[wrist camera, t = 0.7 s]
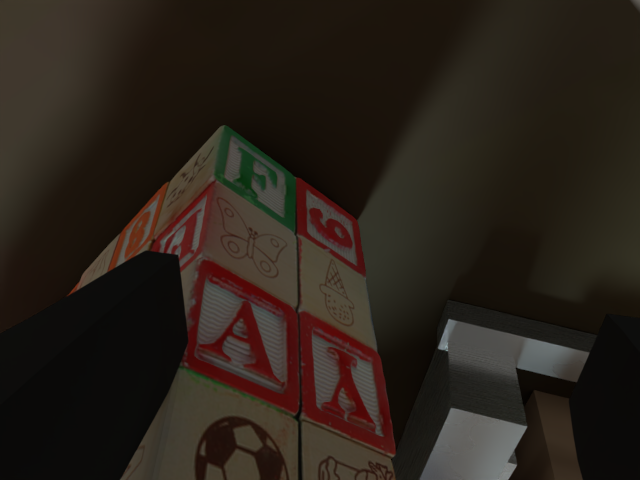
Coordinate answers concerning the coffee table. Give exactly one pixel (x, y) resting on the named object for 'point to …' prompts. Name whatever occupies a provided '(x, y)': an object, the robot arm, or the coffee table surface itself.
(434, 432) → the pale grey flat frame
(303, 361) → the stack of blocks
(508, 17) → the coffee table surface
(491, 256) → the coffee table surface
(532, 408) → the block
